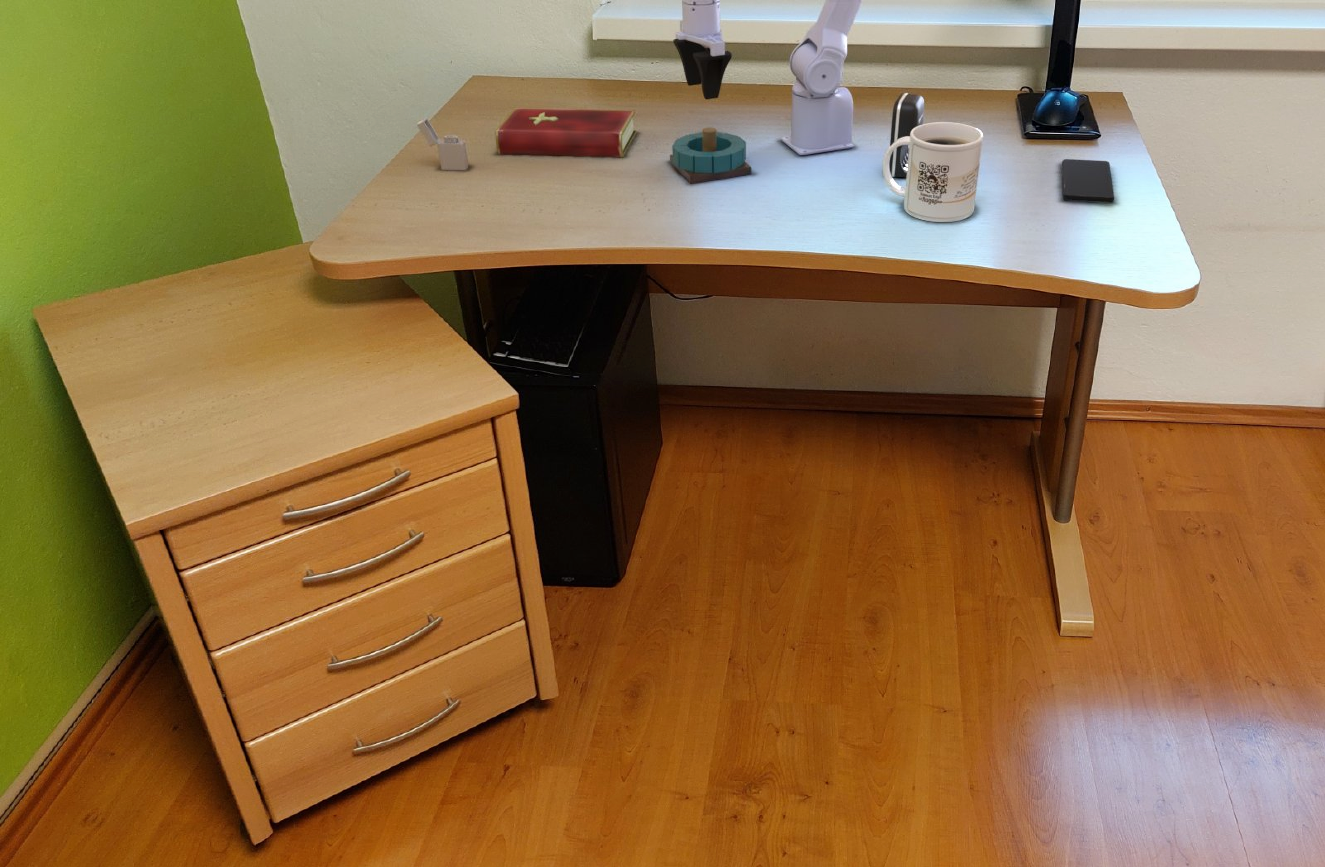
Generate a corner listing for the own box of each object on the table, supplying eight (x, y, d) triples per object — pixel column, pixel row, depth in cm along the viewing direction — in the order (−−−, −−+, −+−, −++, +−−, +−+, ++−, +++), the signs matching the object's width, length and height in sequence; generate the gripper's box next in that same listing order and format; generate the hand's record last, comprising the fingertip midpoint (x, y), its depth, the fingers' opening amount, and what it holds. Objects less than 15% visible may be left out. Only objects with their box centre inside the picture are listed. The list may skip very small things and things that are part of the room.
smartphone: (1063, 195, 162) (1062, 158, 174) (1062, 200, 163) (1061, 163, 175) (1114, 198, 160) (1109, 160, 172) (1113, 203, 161) (1108, 166, 173)
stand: (728, 153, 184) (728, 115, 180) (751, 174, 176) (751, 135, 172) (669, 162, 181) (668, 124, 178) (690, 183, 173) (689, 144, 170)
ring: (729, 143, 184) (729, 128, 182) (756, 166, 175) (756, 150, 173) (664, 153, 181) (663, 138, 180) (687, 177, 172) (687, 161, 171)
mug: (929, 229, 156) (936, 151, 150) (876, 200, 165) (881, 126, 159) (988, 213, 160) (998, 136, 154) (933, 186, 169) (941, 113, 163)
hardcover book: (622, 158, 183) (621, 132, 181) (497, 154, 187) (494, 129, 184) (636, 133, 193) (634, 108, 191) (517, 130, 196) (514, 106, 194)
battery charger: (911, 180, 171) (918, 105, 165) (886, 178, 172) (892, 103, 166) (920, 164, 177) (927, 91, 170) (896, 162, 178) (902, 89, 171)
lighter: (468, 166, 183) (462, 117, 178) (465, 170, 181) (458, 121, 177) (426, 165, 184) (419, 116, 179) (423, 169, 182) (415, 120, 178)
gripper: (660, -7, 175) (663, 81, 182) (692, 14, 163) (694, 108, 171) (703, -12, 176) (704, 76, 184) (737, 9, 165) (738, 101, 173)
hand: (702, 91), depth 178 cm, fingers open, 7 cm apart
